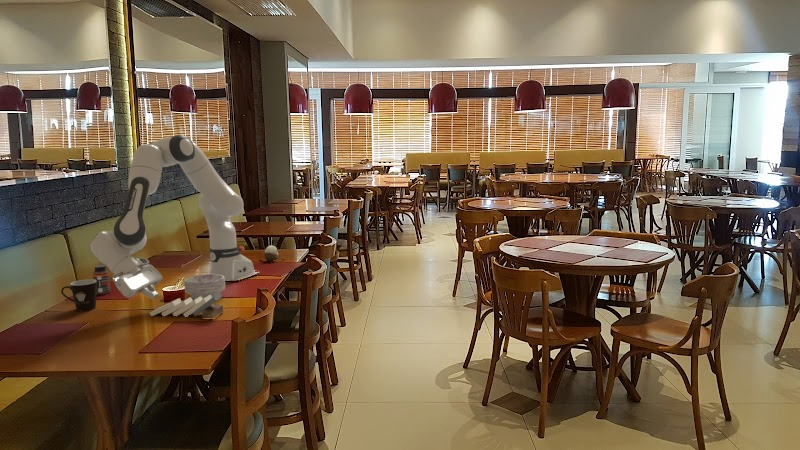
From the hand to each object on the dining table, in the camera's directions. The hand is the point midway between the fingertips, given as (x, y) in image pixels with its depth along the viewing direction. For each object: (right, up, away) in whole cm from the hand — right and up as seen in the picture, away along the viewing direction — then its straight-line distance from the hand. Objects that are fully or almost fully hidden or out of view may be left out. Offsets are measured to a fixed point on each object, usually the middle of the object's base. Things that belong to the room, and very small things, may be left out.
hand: (155, 297), depth 213 cm
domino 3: (+8, -6, 0) cm, 10 cm away
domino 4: (+12, -6, -1) cm, 13 cm away
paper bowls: (+11, -3, +22) cm, 25 cm away
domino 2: (+4, -6, 0) cm, 7 cm away
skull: (+23, +8, +88) cm, 92 cm away
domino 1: (-1, -6, +1) cm, 6 cm away
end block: (+21, -7, -2) cm, 22 cm away
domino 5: (+15, -5, -2) cm, 16 cm away
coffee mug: (-31, -6, +10) cm, 33 cm away
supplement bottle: (-34, -2, +31) cm, 46 cm away
